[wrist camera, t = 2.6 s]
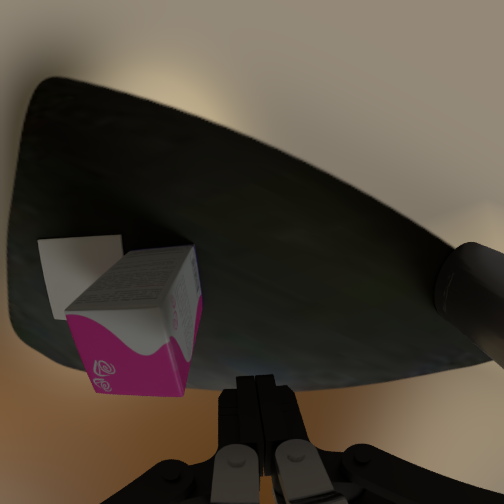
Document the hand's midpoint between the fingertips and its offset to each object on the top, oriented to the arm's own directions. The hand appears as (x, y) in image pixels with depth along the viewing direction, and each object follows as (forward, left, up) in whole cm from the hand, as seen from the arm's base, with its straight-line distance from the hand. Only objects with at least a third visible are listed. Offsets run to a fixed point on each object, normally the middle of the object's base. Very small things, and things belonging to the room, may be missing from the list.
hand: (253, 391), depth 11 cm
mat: (+14, 0, -14) cm, 20 cm away
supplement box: (+6, 0, -14) cm, 16 cm away
